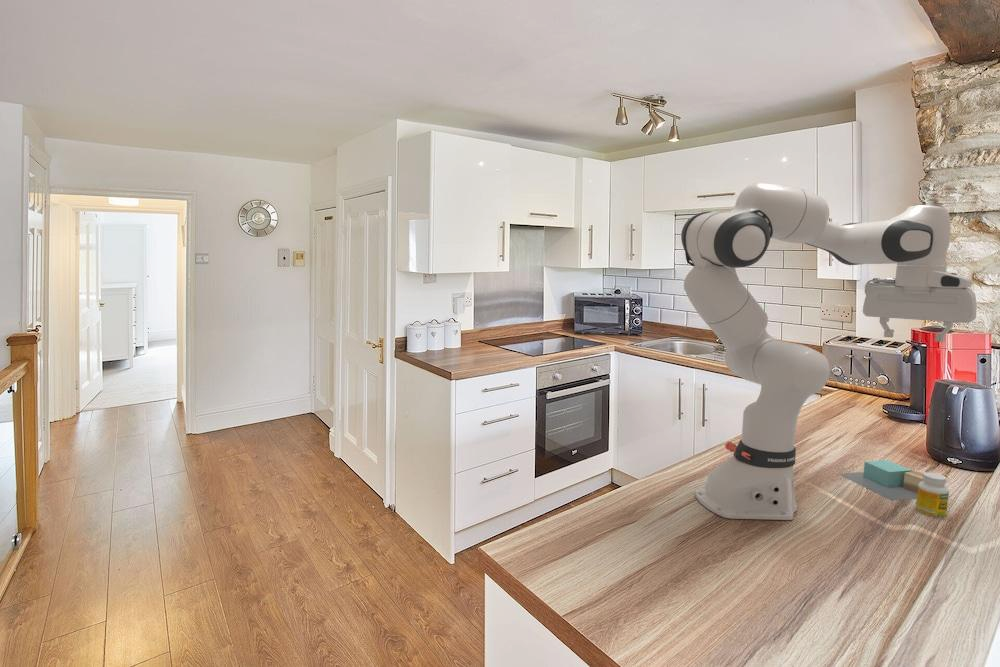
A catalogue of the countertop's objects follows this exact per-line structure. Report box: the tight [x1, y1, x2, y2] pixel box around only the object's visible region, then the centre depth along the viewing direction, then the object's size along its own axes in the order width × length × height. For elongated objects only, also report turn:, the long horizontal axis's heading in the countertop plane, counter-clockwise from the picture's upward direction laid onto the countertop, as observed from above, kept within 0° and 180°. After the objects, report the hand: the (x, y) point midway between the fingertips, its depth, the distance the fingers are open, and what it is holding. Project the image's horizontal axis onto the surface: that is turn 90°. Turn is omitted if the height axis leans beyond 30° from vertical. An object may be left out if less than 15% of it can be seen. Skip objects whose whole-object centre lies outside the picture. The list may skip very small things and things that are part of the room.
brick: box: [903, 469, 926, 493], centre depth 128 cm, size 5×5×4 cm
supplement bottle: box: [915, 471, 950, 518], centre depth 117 cm, size 5×5×10 cm
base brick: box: [863, 459, 914, 487], centre depth 134 cm, size 7×7×4 cm
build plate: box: [838, 471, 917, 502], centre depth 132 cm, size 16×16×1 cm
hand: (913, 339), depth 119 cm, fingers open, 8 cm apart
